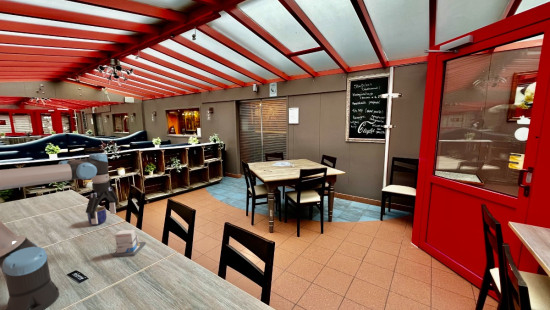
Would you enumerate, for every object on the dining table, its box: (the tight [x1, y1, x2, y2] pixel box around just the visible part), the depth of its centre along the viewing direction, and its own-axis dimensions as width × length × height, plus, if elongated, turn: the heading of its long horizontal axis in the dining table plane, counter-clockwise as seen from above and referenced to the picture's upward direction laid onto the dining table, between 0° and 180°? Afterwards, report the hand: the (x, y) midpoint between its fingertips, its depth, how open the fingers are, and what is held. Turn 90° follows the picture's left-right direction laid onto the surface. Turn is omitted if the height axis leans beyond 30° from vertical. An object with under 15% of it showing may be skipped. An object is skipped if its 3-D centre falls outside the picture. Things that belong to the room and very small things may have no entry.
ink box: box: [114, 229, 137, 253], centre depth 126 cm, size 9×5×12 cm, turn 100°
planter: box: [86, 206, 108, 226], centre depth 163 cm, size 11×11×11 cm
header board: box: [112, 234, 147, 258], centre depth 129 cm, size 12×12×8 cm
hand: (104, 218), depth 121 cm, fingers open, 13 cm apart
